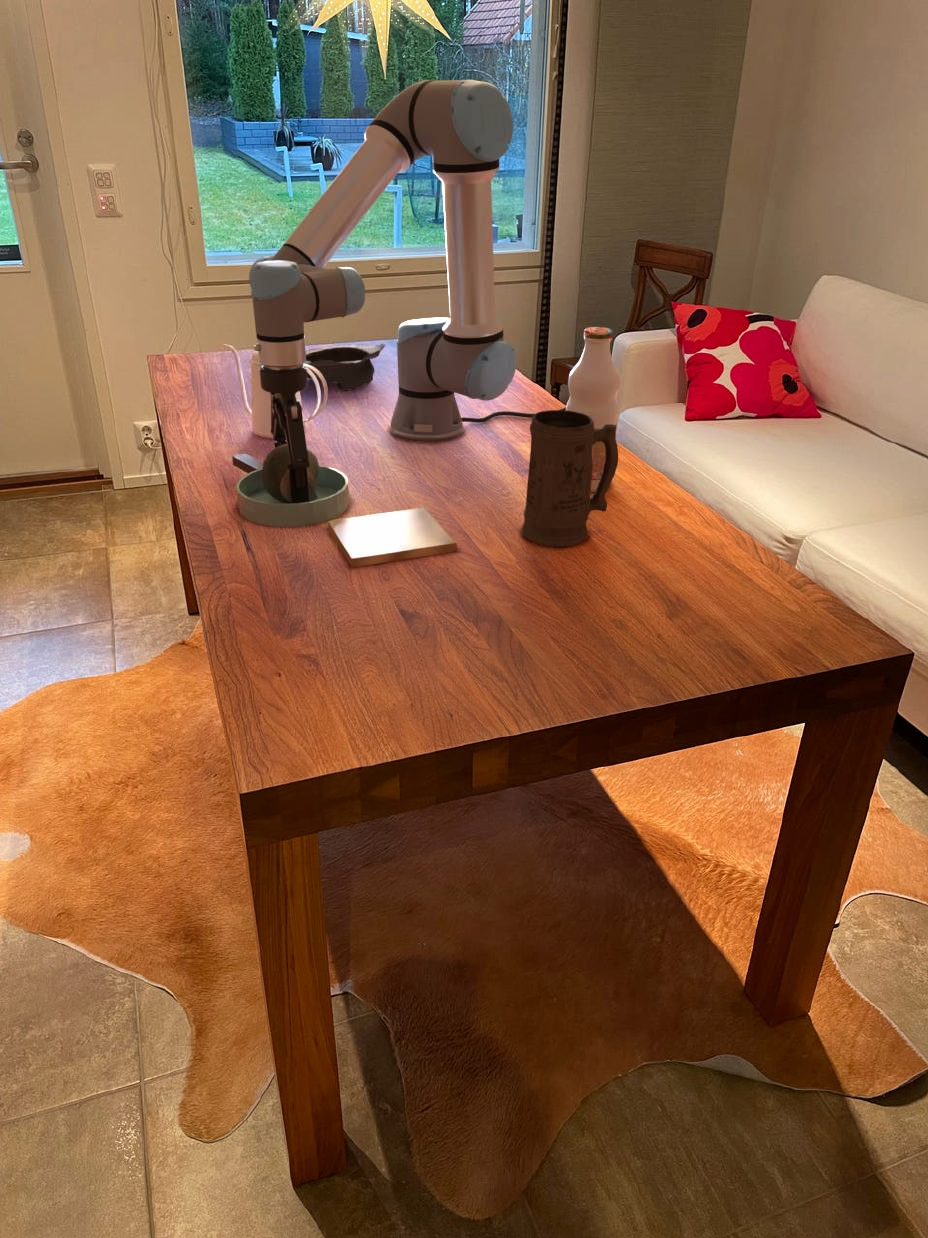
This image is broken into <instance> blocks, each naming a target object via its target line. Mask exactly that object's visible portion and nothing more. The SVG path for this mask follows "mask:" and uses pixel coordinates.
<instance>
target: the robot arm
mask: <svg viewBox="0 0 928 1238" xmlns="http://www.w3.org/2000/svg"><path fill="white" fill-rule="evenodd" d="M513 120H514V119H513V114H512V109H511V106H510V103H509V102H508V99H507V97H506V96H505V95H504V94H503V93H502V92H501V90H500V89H499V88H498V87H497V86H496V85H494V84H492V83H490V82H486V81H481V80H480V81H479V80H475V79H452V80H450V79H449V80H446V79H445V80H436V79H424V80H420V81H417V82H415V83H412V84H411V85H409V86H408V87H406V88H404V89H403V90H402V91H400V92H399V93H398V94H397V95H396V96H395V97H393V98H392V99H390V101H389V102H388V103H387V104H386V105H385V106H384V107H383V108H382V109H381V110H380V111H379V112H378V113H377V115H376V116H375V117H374V118H373V120H371V122H370V124H368V126H367V127H366V129H365V130H364V141H363V142H362V144H361V145H360V146H359V148H357V150H356V151H355V153H354V154H352V156H351V158H350V159H349V160H348V161H347V163H346V164H345V165H344V166H343V168H342V169H341V170H340V172H339V173H338V175H336V177H335V178H334V179H333V181H332V182H331V183H330V185H329V186H328V187H327V188H326V190H325V191H324V192H323V194H322V195H321V196H320V197H319V198H318V200H317V201H316V202H315V204H314V205H313V206H312V208H310V210H309V211H308V212H307V214H306V215H305V216H304V218H303V219H302V220H301V221H300V222H299V224H298V225H297V226H296V227H295V229H294V230H293V232H292V233H291V234H290V236H289V237H288V238H287V240H286V241H285V242H284V243H283V245H282V246H281V247H280V248H279V249H278V251H277V252H276V253H275V254H274V255H267V256H261V257H260V258H258V259H256V260H255V261H254V262H253V264H252V265H251V267H250V270H249V275H248V282H249V286H250V289H251V291H250V296H251V300H252V309H253V316H254V317H253V318H254V329H255V333H256V334H255V335H256V342H257V344H255V345H253V350H254V351H258V357H259V362H260V363H261V364H262V365H261V366H260V368H259V372H260V382H261V388H262V389H263V390H264V391H266V392H269V393H270V395H271V433H272V435H273V442H274V445H273V446H274V448H276V447H277V445H278V443H279V442H281V444H282V445H283V444H287V448H288V453H289V458H290V463H291V464H289V465H287V469H290V481H291V493H292V503H303V502H309V493H308V479H307V467H309V466H310V462H309V459H308V452H307V449H308V446H307V445H308V444H307V439H306V432H305V428H304V425H303V417H302V409H303V406H302V407H301V405H300V403H299V401H296V397H295V394H296V393H297V392H298V391H300V392H302V391H305V389H307V387H308V378H307V370H306V366H305V365H304V364H303V363H304V362H305V361H306V336H305V323H311V322H317V321H323V320H329V319H335V318H336V319H337V318H345V317H348V316H351V315H355V314H357V313H359V312H360V311H361V310H362V308H363V307H364V305H365V303H366V302H365V301H366V286H365V283H364V280H363V278H362V275H360V273H359V272H358V270H356V269H355V268H353V267H349V266H345V267H341V266H335V267H333V268H326V266H327V264H328V263H329V262H330V260H331V259H332V258H333V257H334V255H335V254H336V253H337V251H338V250H339V249H340V248H341V247H342V245H343V244H344V243H345V241H346V240H347V239H348V237H349V236H350V235H351V233H352V232H353V231H354V229H355V228H356V227H357V226H358V224H360V222H361V221H362V219H363V218H364V217H365V216H366V215H367V213H368V212H369V210H371V208H372V207H373V205H374V204H375V203H376V201H377V200H378V199H379V198H380V196H381V195H382V194H383V193H384V192H385V190H386V189H387V187H389V185H390V183H392V181H393V180H394V179H395V178H396V176H397V175H398V173H400V174H401V173H406V172H407V171H408V170H409V169H410V168H411V166H412V165H413V164H414V163H415V162H416V161H417V160H420V159H421V158H424V157H428V156H431V157H432V159H431V160H432V173H433V174H434V175H436V177H437V178H438V179H439V180H440V181H441V183H442V196H443V197H442V199H443V200H442V201H443V215H444V218H443V219H444V231H445V232H444V235H445V249H446V250H445V252H446V253H445V254H446V270H447V290H448V308H449V317H424V318H416V319H410V320H407V321H404V322H402V323H401V324H400V325H399V327H398V329H397V341H396V350H397V353H396V355H397V379H398V395H397V400H396V402H395V406H394V409H393V412H392V416H391V420H390V432H391V434H392V435H393V436H394V437H396V438H399V439H402V440H405V441H409V442H410V441H411V442H419V443H436V442H445V441H449V440H452V439H455V438H458V437H459V436H461V435H462V433H463V431H464V430H463V425H464V424H463V423H476V424H477V423H479V424H480V423H485V422H487V421H489V420H492V419H493V418H496V417H502V416H511V417H518V418H525V419H526V418H529V419H532V417H533V415H534V414H536V413H537V412H536V413H528V412H519V411H511V410H510V411H509V410H500V411H495V412H492V413H489V414H488V415H486V416H483V417H479V418H477V417H464V416H463V417H462V416H461V412H460V409H459V406H458V403H457V400H456V397H455V394H458V395H461V396H464V397H467V398H469V399H471V400H480V401H487V402H488V401H492V400H495V399H496V398H499V397H500V396H501V395H502V394H504V393H505V391H506V390H507V389H508V387H509V385H510V384H512V381H513V379H514V377H515V374H516V370H517V364H518V363H517V361H518V357H517V352H516V350H515V348H514V347H513V346H512V345H511V344H510V343H509V342H508V341H506V340H504V339H505V338H504V337H505V336H504V324H503V323H502V322H501V321H500V320H499V319H498V318H497V317H496V301H495V300H496V299H495V266H494V265H495V262H494V234H493V233H494V231H493V229H494V228H493V196H492V193H493V192H492V179H493V177H494V176H495V175H496V174H497V173H498V171H499V170H500V168H501V167H500V159H501V158H502V157H503V156H504V155H505V154H506V153H507V151H508V150H509V148H510V147H509V144H511V142H512V140H513V135H514V121H513ZM559 410H563V411H566V406H564V407H563V408H559ZM300 459H302V460H300ZM297 460H300V461H297Z"/></svg>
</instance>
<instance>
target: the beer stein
mask: <svg viewBox="0 0 928 1238" xmlns="http://www.w3.org/2000/svg"><path fill="white" fill-rule="evenodd" d="M533 414H534V415H533V417H532V418H531V422H530V425H529V431H530V453H529V464H528V475H527V484H526V485H527V486H526V496H525V497H526V498H525V508H524V510H523V524H522V528H521V533H522V535H523V536H524V537H525V538H526V539H527V540H528V541H531V542H532V543H535V544H538V545H541V546H546V547H553V548H554V547H555V548H561V547H562V548H563V547H572V546H576V545H578V544H582V542H584V541H585V540H586V539H587V537H588V527H587V522H588V519H589V515H590V513H591V512H593V511H598V512H603V513H604V512H607V509H608V501H607V500H606V493H607V492H608V489H609V487H610V485H611V483H612V482H613V479H614V477H615V475H616V472H617V468H618V464H619V449H618V443H617V439H616V438H617V437H616V436H617V435H616V436H615V432H616V433H617V429H616V425H613V424H605V425H604V426H603V428H601V429H597V430H595V429H594V421H593V419H592V418H591V417H589V416H588V415H585V414H583V413H578V412H574V411H563V410H560V409H551V410H542V411H537V412H536V414H535V413H533ZM600 441H601V442H603V443H604V445H605V449H606V450H605V463H604V468H603V472H602V475H601V478H600V481H599V484H598V486H597V488H596V491H595V492H593V495H592V496H591V492H590V491H591V481H592V468H593V462H592V446H593V445H594V444H595V443H596V442H600Z"/></svg>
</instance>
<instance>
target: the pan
mask: <svg viewBox="0 0 928 1238" xmlns="http://www.w3.org/2000/svg"><path fill="white" fill-rule="evenodd" d="M262 469H263V468H261V469H258V470H256V471H253V472H250V473H246V474H245V475H243V476H241V477H240V478H239V480H237V481H236V486H235V491H236V492H235V493H236V502H237V508H238V511H239V514H240V515H241V516H242V517H243V518H245V519H246V520H249V521H250V522H252V523H256V524H259V525H263V526H269V527H277V528H278V527H279V528H295V527H306V526H307V527H308V526H313V525H317V524H321V523H325V522H328V521H331V520H334V519H335V518H337V517H340V516H341V515H342V514H343V513H345V512H346V511H347V509H348V508H349V505H350V491H349V478H348V477H347V475H346V474H344V472H342V471H340V470H339V469H336V468H332V467H329V466H326V465H320V464H319V471H318V475H317V479H316V485H315V492H316V495H317V497H318V498H317V499H316V500H314V501H311V502H303V503H291V504H287V503H283V502H280V501H278V500H276V499H275V498H273V497H272V496H271V495H270V494H269V493H268V492H267V490H266V488H265V486H264V483H263V478H262Z"/></svg>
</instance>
